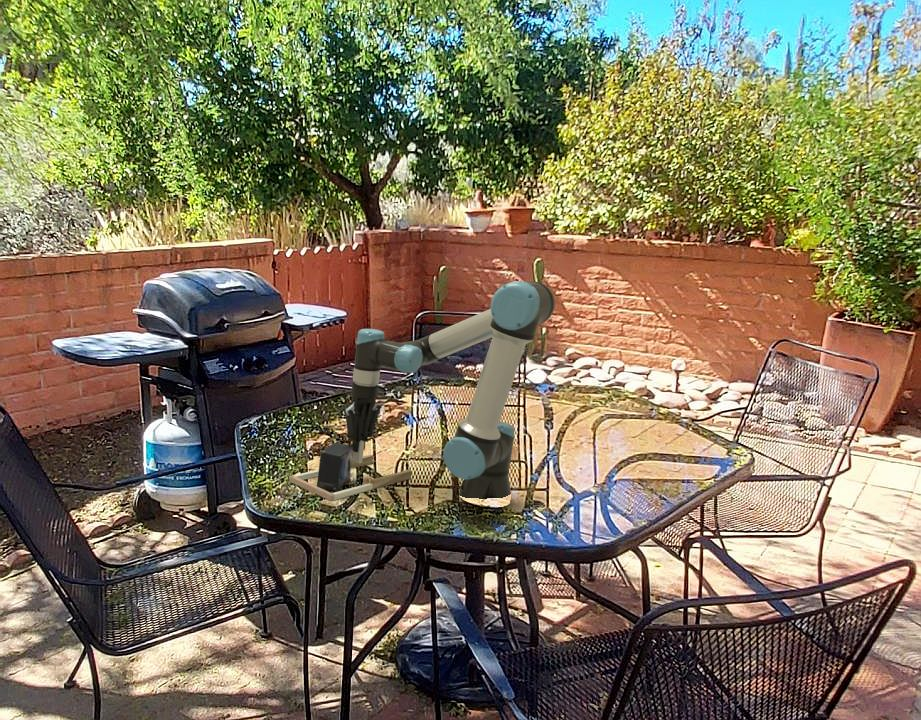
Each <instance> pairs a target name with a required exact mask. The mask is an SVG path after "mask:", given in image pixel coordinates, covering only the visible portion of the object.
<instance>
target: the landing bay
mask: <svg viewBox="0 0 921 720" xmlns="http://www.w3.org/2000/svg"><path fill="white" fill-rule="evenodd" d="M318 472H319V469H316V470H315V469H314V470H311V471H307V472H302V473H299V474H294V475H293V474H292V475H289V478H288V482H290V483H292V484H294V485H296V486H298V487H300V488H303V489H304V490H307V491H309V492H311V493H313V494H315V495H318V496H320V497H322V498H323V499H325V500H328V501H330V502H331V501H335V500H339V499H340V500H341V499H342V498H347V497H351V496H354V495H358V494H360V493H364V492H368V491H372V490H374V489H373V484H371V482H369V483H365V484H363V485H362V484H360V485H358V486H354V487H351V488H350V487H349V488H346V489H343V490H338V491H335V492H330V491H329V490H327V489H324V488H319V487H317V485H314V484H312V483H310V482H308V481H306V480H308V479H312V478H318Z"/></svg>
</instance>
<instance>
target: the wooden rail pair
mask: <svg viewBox="0 0 921 720" xmlns="http://www.w3.org/2000/svg"><path fill="white" fill-rule="evenodd" d="M373 463H374V455H373V454H368V455H363V460H362V463H359V464H358V463H356V462H354V461H352V463H351V469H354V468H355V469H356V468H359V467H363V466H367V465H372V464H373ZM412 472H413V470H412V469H406V470H402V471H399V472H394V473H391V474H387V475H383V476H379V477H376V478H372V479H371V480H370V483H371V484H373V489H372V490H375V489H378V488H383V487H387V486H390V485H394V484H397V483H400V482H401V483H402V482H405V481H407V480H411V479H412V475H413V473H412Z"/></svg>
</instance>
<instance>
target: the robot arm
mask: <svg viewBox="0 0 921 720" xmlns="http://www.w3.org/2000/svg"><path fill="white" fill-rule="evenodd" d="M555 308H556V298H555V295H554V293H553V291H552V289H550V288H549V286H548V285H546V284H545V283H542V282H540V281H531V280H530V281H522V280H516V281H511V282H508V283H506V284H503V285H501V286H500V287H499V288H498V289H497V290H496V291H495V293H494V294H493V296H492V299H491V301H490V308H489V309H486V310H484V311H483V312H482V311H481V312H480V313H477V314H475V315H473V316H470V317H468V318H466V319H464V320H461V321H459V322H457V323H454V324H453V325H450V326H448V327H446V328H442V329H441V330H438V331H436V332H434V333H432V334H429V335H427V336H424V337H422V338H419V339H416V340H409V341H404V342H398V341H391V340H388V339H385V332H384V331H383V330H379V329H376V328H375V329H374V328H362V329H359V330H358V332H357V338H356V343H355V353H354V354H355V356H354V364H353V372H352V373H353V374H352V381H353V382H352V383H351V391H350V393H351V396H352V399H351V402H350V405H349V406H348V407H345V408H343V413H344V414H345V421H346V431H347V439H349V440H350V441H351V440H352V447H353V454H352V461H354V462H356V463H358V464H359V463H362V460H363V456H364V451H365V449H366V442H369V440H370V439H369V438H372V436H373V434H374V433H373V432H374V430H375V425H376V422H377V418H378V416H379V412H380V411H381V409H382V405H380V404H378V403H377V402H376V399H377V397H378V394H379V385H378V384H380V376H381V367H383V368H388V369H391V370H395V371H399V372H401V373H410V374H413V373H416V372H417V371H418V370H419V369H420V368H421V367H422V366H428V365H431V364H434V363H436V362H437V361H438V360H441V359H442V358H444V357H445V358H446V357H447V356H450V355H452V354H455V353H458V352H460V351H463V350H465V349H467V348H469V347H471V346H474V345H477V344H479V343H481V342H485V341H486V340H489V339H491V341H490V344H489V346H488V350H487V353H486V357H485V359H484V363H483V366H482V369H481V372H480V376H479V378H478V381H477V385H476V388H475V390H474V393H473V396H472V398H471V399H472V400H471V403H470V406H469V409H468V411H467V415H466V417H465V418H463V419H461V420H459V422H458V424H457V427H456V430H455V434H454V437H452V438H451V439H449V440H448V442H447V443H446V444H445V446H444V448H443V452H442V454H443V455H442V456H443V461H444V464H445V466H446V468H447V470H448V471H449V473H451V475H453V476H455V477H456V478H458V479H461V480H462V482H461V485H460V486H459V490H458V496H459V495H460V496H462V497H465V498H479V499H487V498H503V497H506V496H508V495H510V494H511V493H512V490H511V482H510V477H509V474H510V467H511V460H512V454H513V446H514V440H515V427H514V426H513V425H512V424H510V423H508V422H504V421H501V418H502V415H503V411H504V409H505V405H506V404H507V403H506V402H507V400H508V397H509V394H510V392H511V389H512V385H513V382H514V380H515V377H516V373H517V370H518V368H519V365H520V362H521V360H522V356H523V352H524V350H525V346H526V345H527V344H529V343H532V342H533V341H534V338H535V336H536V333H537V330H538V328H539V326H540V325H542V324H544V323H546V322H547V321H548V320H550V318H551V317H552V315H553V314H554V311H555Z"/></svg>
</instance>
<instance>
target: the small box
mask: <svg viewBox="0 0 921 720" xmlns="http://www.w3.org/2000/svg"><path fill="white" fill-rule="evenodd" d="M352 458H353V445H352V446H351V445H346V444H342V443H338V442H333V443H332V444H330V445H329V446H327V447H326V448H324V449H322V450H321V451H320V455H319V462H318V463H319V464H318V470H319V472H318V477H317V480H316V486H317V487H319V488H321V489H323V490H327V491H333V492H334V491H335V492H338V491H340V489H341V488H342V487H344V486H345V485H346V484H347V483H349V482H350V480H351V479H350V478H351V471H352V468H351V463H352Z"/></svg>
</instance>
